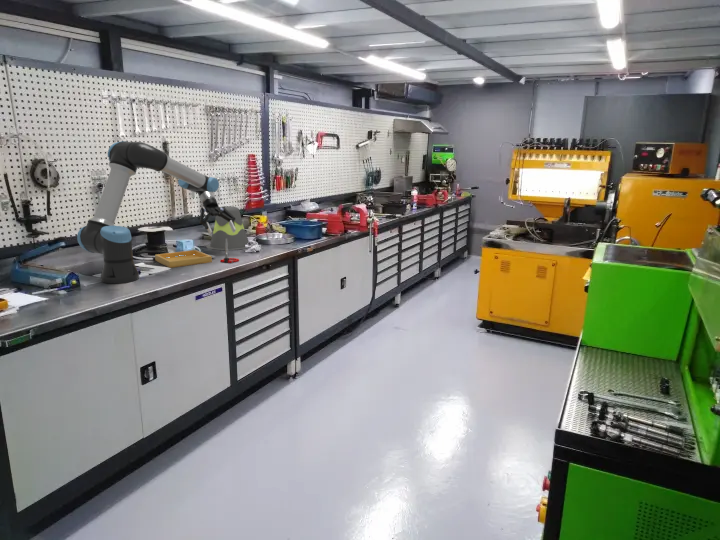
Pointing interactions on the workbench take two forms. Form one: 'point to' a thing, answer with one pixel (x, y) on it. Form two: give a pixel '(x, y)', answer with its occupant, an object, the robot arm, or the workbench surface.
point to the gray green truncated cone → (228, 232)
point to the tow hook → (226, 259)
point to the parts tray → (183, 258)
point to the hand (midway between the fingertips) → (222, 232)
